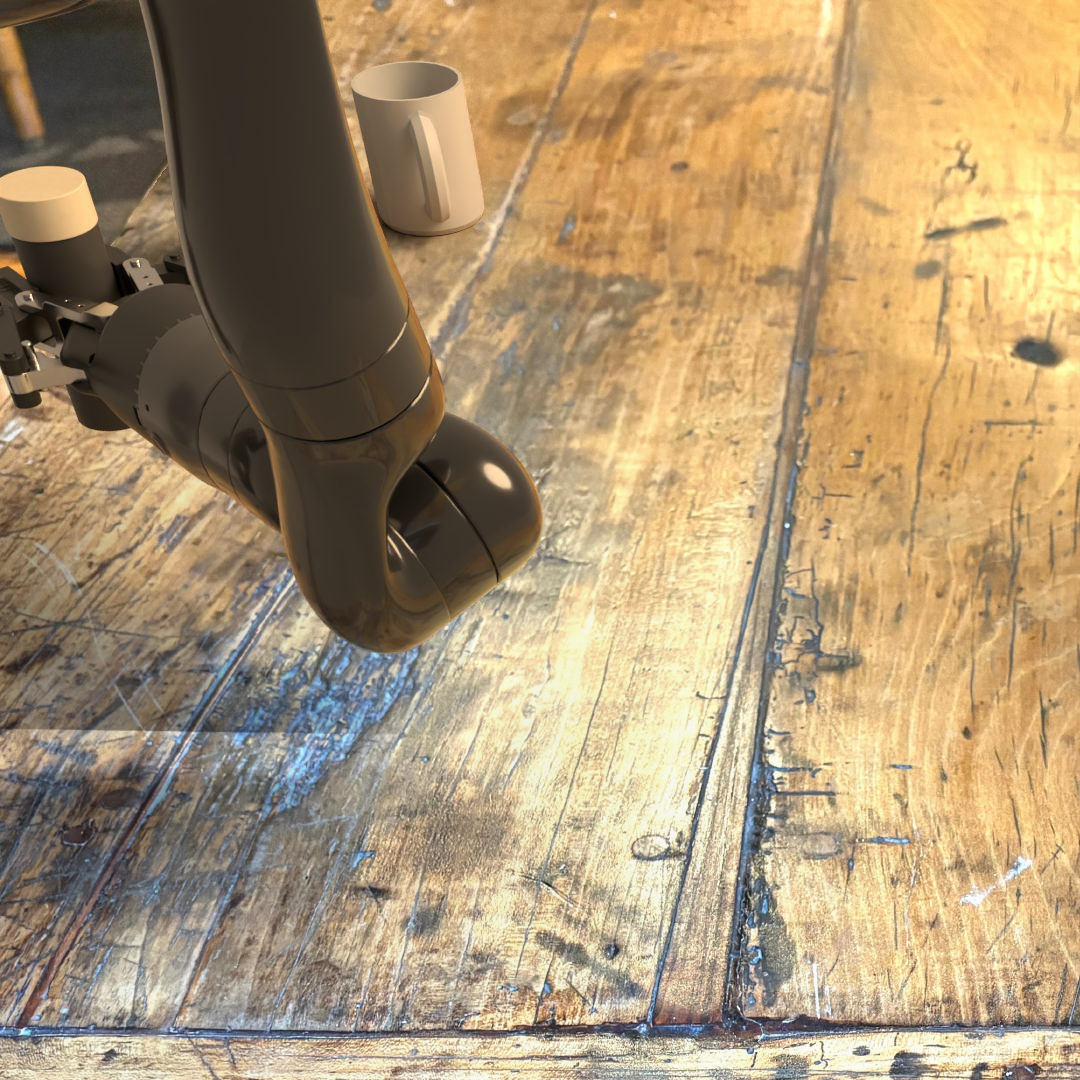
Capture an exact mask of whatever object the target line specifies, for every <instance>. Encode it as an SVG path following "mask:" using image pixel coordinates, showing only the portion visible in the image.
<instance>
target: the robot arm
mask: <svg viewBox="0 0 1080 1080" xmlns="http://www.w3.org/2000/svg"><path fill="white" fill-rule="evenodd" d="M98 2H100V0H0V30H4V29H9V28H13V27H17V26H22V25H26V24H31V23H35V22H40V21H44V20H48V19H52V18H56V17H59V16H63V15H67V14H70V13H72V12H75V11H78V10H81V9H84V8H87V7H88V6H91V5H94V4H96V3H98ZM138 3H139V6H140V7H139V8H140V11H141V14H142V19H143V22H144V27H145V31H146V35H147V40H148V44H149V48H150V53H151V57H152V62H153V67H154V74H155V79H156V86H157V87H156V88H157V92H158V98H159V104H160V111H161V119H162V127H163V135H164V145H165V153H166V160H167V167H168V174H169V183H170V189H171V190H170V191H171V197H172V203H173V204H172V205H173V213H174V218H175V225H176V230H177V231H176V232H177V237H178V242H179V247H180V251H172V252H171V251H170V252H167V253H165V254H164V255H163V256H162V258H161V259H162V262H163V263H158V264H150V262H149V260H148V259H147V258H144V257H132V256H131V255H129V254H128V253H126V252H125V251H124V250H122V249H121V248H119V247H116V246H112V245H108V246H106V245H105V247H106V250H107V253H108V256H109V259H110V262H111V265H112V268H113V271H114V274H115V277H116V280H117V284H118V287H119V290H120V293H121V296H122V298H121V299H119V300H116V301H114V302H112V303H108V302H101V303H99V304H98V303H95V302H92V301H89V300H86V299H83V298H81V297H78V296H75V295H72V294H69V293H66V292H64V293H62V294H60V295H58V296H56V297H53V296H50V295H47V294H44V293H41V292H40V291H39V288H38V287H37V286H35V285H34V284H32V283H30V282H29V281H28V280H27V279H26V277H25V276H23V275H22V274H21V273H19V272H17V271H16V270H14V269H13V268H12V267H11V266H10V265H6V266H3V267H0V372H1V374H2V376H3V378H4V379H3V380H4V381H5V384H6V386H7V389H8V391H9V393H10V396H11V400H12V402H13V404H14V406H15V407H16V408H17V409H21V410H28V409H32V408H33V409H34V408H36V407H38V406H40V405H41V404H42V402H43V399H42V396H41V393H46V392H47V391H49V389H51V388H56V387H61V386H66V385H67V384H70V386H71V387H72V388H73V389H75V390H76V391H78V392H80V393H83V394H87V395H93V396H96V397H99V398H101V399H102V400H103V401H104V402H105V403H106V405H107V406H108V407H109V408H110V409H111V410H112V411H113V412H114V413H115V414H116V415H117V416H118V417H119V418H120V419H121V420H122V421H123V422H124V423H125V424H126V425H128V426H129V427H130V429H132V430H133V431H134V432H135V433H137V434H138V435H140V436H141V437H142V438H143V439H145V440H146V441H147V442H148V443H150V444H151V445H152V446H154V447H155V448H157V449H158V450H159V451H160V452H161V453H162V454H163V455H164V456H165V457H168V458H169V459H171V460H172V461H174V463H176V464H177V465H179V466H180V467H181V468H182V469H184V470H185V471H187V472H188V473H189V474H191V475H192V476H193V477H194V478H196V479H198V480H199V481H201V482H202V483H204V484H206V485H208V486H210V487H212V488H214V489H215V490H218V491H220V492H223V493H224V494H225V495H227V496H229V498H231V499H232V500H234V501H235V502H237V503H238V504H239V505H240V506H242V507H243V508H244V509H246V510H247V511H248V512H250V513H251V514H252V515H254V516H255V518H257V519H258V520H259V521H261V522H262V523H264V524H265V525H266V526H268V527H269V528H270V529H272V530H273V531H275V532H277V533H279V534H280V535H281V537H282V540H283V545H284V549H285V553H286V557H287V560H288V563H289V566H290V569H291V571H292V574H293V578H294V579H295V582H296V584H297V586H298V588H299V590H300V592H301V594H302V595H303V597H304V600H305V601H306V602H307V604H308V606H309V607H310V608H311V610H312V611H313V613H314V614H315V615H316V617H317V618H318V619H319V620H320V622H322V623H323V624H324V626H325V627H326V628H327V629H329V630H330V631H331V633H333V634H334V635H336V636H337V637H338V638H340V639H341V640H343V641H344V642H346V643H347V644H349V645H351V646H353V647H355V648H358V649H360V650H362V651H366V652H369V653H375V654H381V655H397V654H402V653H405V652H409V651H411V650H412V649H416V648H417V647H419V646H421V645H422V644H424V643H426V642H427V641H428V640H430V639H431V638H433V637H434V636H435V635H436V634H437V633H439V632H440V631H441V630H442V629H444V628H445V627H446V626H448V625H449V623H452V622H453V621H454V620H455V619H457V618H458V617H459V616H461V615H462V614H463V613H465V612H466V611H467V610H468V609H470V608H471V607H472V606H473V605H474V604H476V603H477V602H478V601H480V600H481V599H482V598H484V597H485V596H486V595H487V594H489V593H491V591H492V590H494V589H495V588H496V587H498V586H500V585H501V584H502V583H503V582H505V581H506V580H507V579H509V578H510V577H511V576H513V575H514V574H515V573H516V572H518V570H520V569H521V568H522V567H524V566H525V565H526V564H527V562H529V560H530V559H531V558H532V557H533V556H534V554H535V552H536V550H537V549H538V547H539V545H540V543H541V539H542V535H543V531H544V511H543V506H542V501H541V497H540V493H539V491H538V489H537V486H536V484H535V482H534V480H533V479H532V476H531V475H530V473H529V472H528V470H527V469H526V467H525V466H524V465H523V463H522V462H521V460H519V458H518V457H517V456H516V455H515V454H514V453H513V452H512V451H511V450H510V449H509V448H508V447H506V446H505V445H504V444H503V443H502V442H501V441H500V440H499V439H497V438H496V437H495V436H494V435H492V434H491V433H489V432H487V431H486V430H484V429H483V428H481V427H480V426H478V425H477V424H475V423H473V422H470V421H468V420H466V419H465V418H463V417H460V416H458V415H456V414H453V413H450V412H448V411H446V393H445V386H444V383H443V377H442V374H441V372H440V368H439V366H438V363H437V361H436V358H435V355H434V354H433V350H432V348H431V346H430V344H429V342H428V341H429V340H428V339H427V337H426V334H425V332H424V329H423V327H422V324H421V322H420V320H419V316H418V314H417V312H416V310H415V307H414V305H413V302H412V300H411V298H410V295H409V292H408V290H407V288H406V285H405V282H404V280H403V278H402V275H401V273H400V271H399V268H398V267H397V264H396V261H395V260H394V257H393V255H392V253H391V250H390V247H389V245H388V242H387V239H386V237H385V234H384V231H383V228H382V226H381V223H380V221H379V218H378V215H377V212H376V209H375V207H374V204H373V200H372V198H371V194H370V191H369V188H368V186H367V183H366V179H365V177H364V174H363V171H362V168H361V165H360V161H359V158H358V155H357V151H356V148H355V144H354V141H353V137H352V134H351V130H350V125H349V122H348V118H347V114H346V111H345V106H344V102H343V99H342V95H341V91H340V87H339V83H338V79H337V76H336V72H335V68H334V64H333V59H332V55H331V50H330V47H329V41H328V39H327V38H328V37H327V33H326V29H325V25H324V21H323V17H322V12H321V9H320V5H319V0H138ZM35 349H37V350H41V351H44V352H46V353H49V354H52V355H53V356H55V355H57V356H58V357H59V358H55V357H49V356H47V355H45V353H44V352H41V351H36V350H35Z"/></svg>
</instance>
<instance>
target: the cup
mask: <svg viewBox="0 0 1080 1080" xmlns="http://www.w3.org/2000/svg"><path fill="white" fill-rule="evenodd" d="M350 88H351V92H352V97H353V100H354V101H353V102H354V106H355V110H356V115H357V120H358V125H359V129H360V133H361V138H362V143H363V147H364V151H365V156H366V161H367V165H368V170H369V174H370V179H371V184H372V187H373V192H374V197H375V201H376V206H377V210H378V212H379V216H380V218H381V219H382V221H383V222H384V224H386V225H387V227H388V228H390V229H392V230H393V231H394V232H399V233H402V234H405V235H410V236H417V237H418V236H419V237H420V236H421V237H431V236H433V237H434V236H443V235H449V234H454V233H457V232H460V231H463V230H466V229H468V228H470V227H472V226H474V225H476V223H477V222H479V221H480V220H481V218H482V215H483V213H484V211H485V208H486V207H485V200H484V199H485V198H484V192H483V187H482V181H481V175H480V169H479V163H478V157H477V153H476V147H475V142H474V141H475V140H474V135H473V130H472V125H471V119H470V113H469V108H468V102H467V97H466V91H465V86H464V80H463V74H462V73H461V72H460V71H459V70H458V69H456V68H454V67H452V66H450V65H447V64H444V63H440V62H434V61H427V60H424V61H423V60H405V61H404V60H403V61H394V62H388V63H382V64H379V65H375V66H371V67H369V68H367V69H364V70H362V71H360V72H359V73H357V74H355V75H354V76H353V78H352V79H351V81H350Z"/></svg>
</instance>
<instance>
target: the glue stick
mask: <svg viewBox="0 0 1080 1080" xmlns="http://www.w3.org/2000/svg"><path fill="white" fill-rule="evenodd" d="M0 217H1V220H2V222H3V225H4V228H5V230H6V232H7V234H8V235H9V236H10V237H11V240H12V243H13V246H14V248H15V251H16V254H17V257H18V260H19V262H20V265H21V268H22V270H23V274H24V275H25V276H24V277H25V278H26V279H27V280H28V281H29V282H30V283H32V284H34V285H35V286H37V287H38V288H39V291H40V292H41V293H44V294H47V295H50V296H53V297H56V296H58V295H60V294H62V293H64V292H66V293H69V294H72V295H75V296H78V297H81V298H83V299H86V300H89V301H92V302H95V303H98V304H99V303H101V302H108V303H112V302H114V301H116V300H119V299H121V298H122V296H121V293H120V290H119V287H118V284H117V280H116V277H115V274H114V271H113V268H112V265H111V262H110V259H109V256H108V253H107V250H106V247H107V246H106V244H105V242H104V238H103V235H102V232H101V229H100V226H99V224H98V223H99V222H98V221H99V216H98V213H97V211H96V207H95V204H94V201H93V198H92V194H91V192H90V188H89V186H88V183H87V180H86V177H85V176H84V174H83V173H82V172H81V171H79V170H77V169H74V168H70V167H66V166H57V165H44V166H42V165H41V166H34V167H27V168H23V169H19V170H15V171H12V172H9V173H7V174H4V175H3V176H1V177H0ZM105 246H106V247H105ZM54 358H59V357H58V356H57V355H54ZM65 387H66V391H67V393H68V397H69V398H70V401H71V404H72V408H73V410H74V413H75V416H76V418H77V421H78V422H79V424H80V425H81V426H83V427H85V428H86V429H89V430H92V431H96V432H97V431H99V432H117V431H118V432H119V431H125V430H129V429H131V428H130V427H129V426H128V425H126V424H125V423H124V422H123V421H122V420H121V419H120V418H119V417H118V416H117V415H116V414H115V413H114V412H113V411H112V410H111V409H110V408H109V407H108V406H107V405H106V403H105V402H104V401H103V400H102V399H101V398H99V397H96V396H93V395H87V394H83V393H80V392H78V391H76V390H75V389H73V388H72V387H71V386H70V384H67V385H65Z"/></svg>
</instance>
